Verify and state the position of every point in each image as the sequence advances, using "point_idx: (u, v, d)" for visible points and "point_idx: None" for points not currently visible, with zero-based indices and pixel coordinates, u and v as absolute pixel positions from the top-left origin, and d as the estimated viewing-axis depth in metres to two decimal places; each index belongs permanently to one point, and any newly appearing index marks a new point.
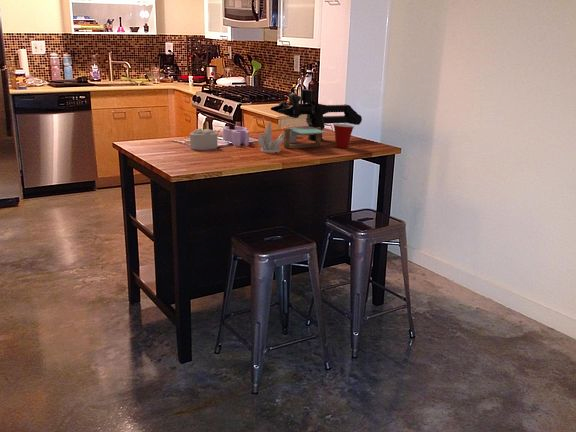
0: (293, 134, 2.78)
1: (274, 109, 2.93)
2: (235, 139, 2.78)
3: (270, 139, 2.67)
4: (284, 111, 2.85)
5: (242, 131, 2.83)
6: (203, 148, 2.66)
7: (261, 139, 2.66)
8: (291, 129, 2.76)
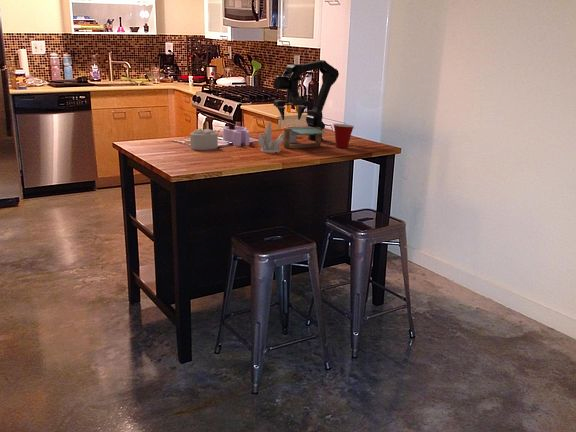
0: (293, 134, 2.78)
1: None
2: (236, 139, 2.78)
3: (270, 139, 2.67)
4: None
5: (242, 131, 2.83)
6: (203, 148, 2.66)
7: (261, 139, 2.66)
8: (291, 129, 2.76)
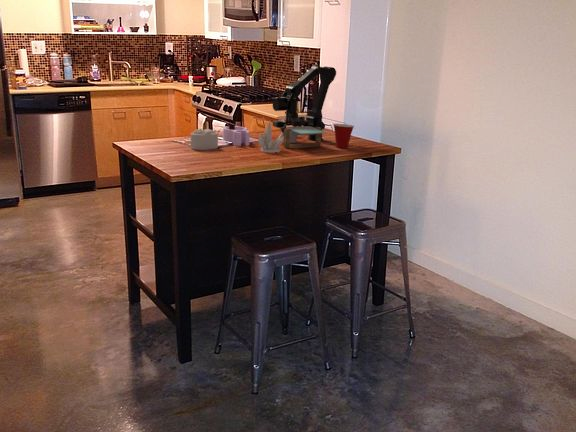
0: (293, 134, 2.78)
1: None
2: (236, 139, 2.78)
3: (270, 139, 2.67)
4: None
5: (242, 131, 2.83)
6: (204, 148, 2.66)
7: (261, 139, 2.66)
8: (291, 129, 2.76)
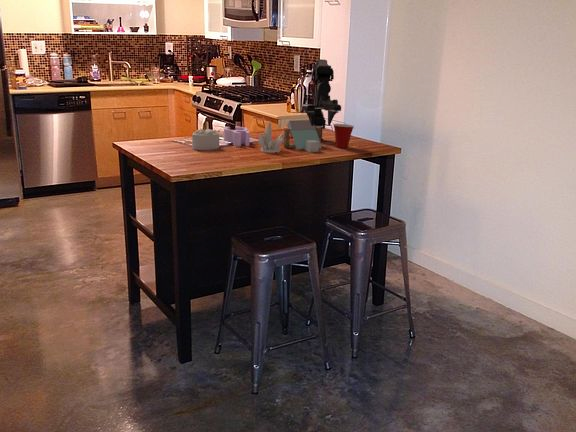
0: None
1: None
2: (236, 140, 2.77)
3: (270, 139, 2.67)
4: None
5: (243, 131, 2.82)
6: (205, 148, 2.66)
7: (261, 139, 2.66)
8: (291, 130, 2.77)
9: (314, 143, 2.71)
